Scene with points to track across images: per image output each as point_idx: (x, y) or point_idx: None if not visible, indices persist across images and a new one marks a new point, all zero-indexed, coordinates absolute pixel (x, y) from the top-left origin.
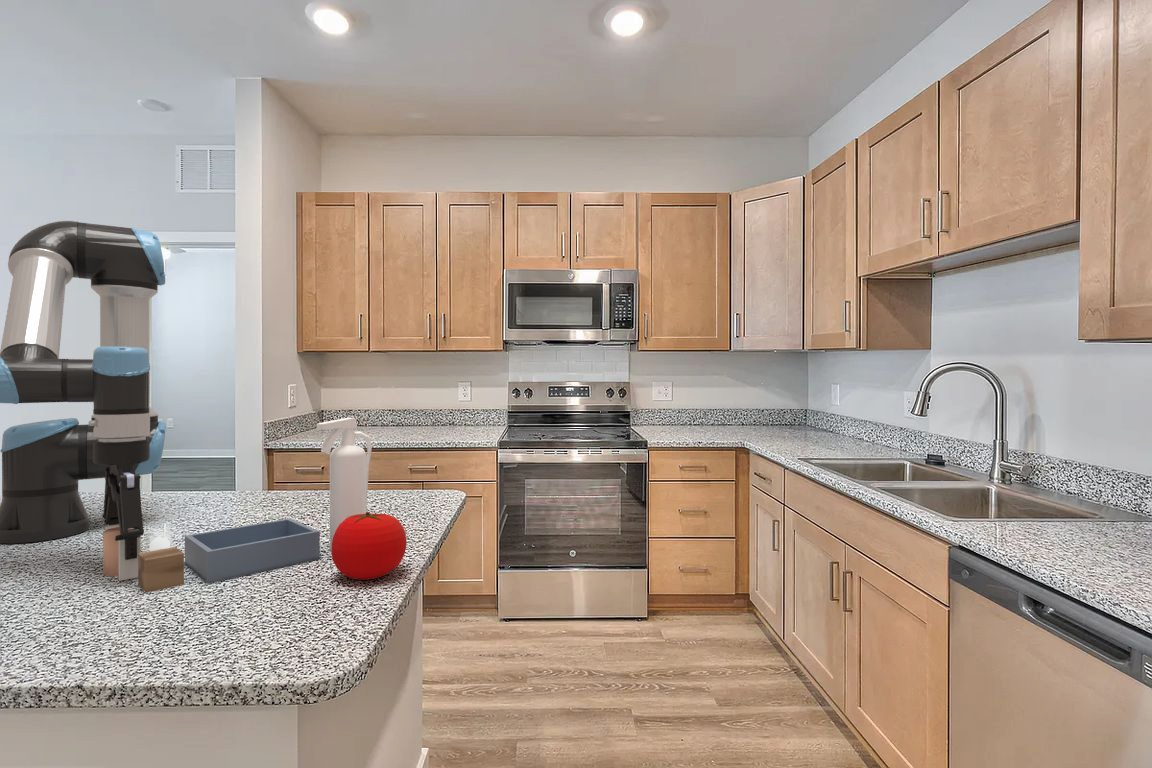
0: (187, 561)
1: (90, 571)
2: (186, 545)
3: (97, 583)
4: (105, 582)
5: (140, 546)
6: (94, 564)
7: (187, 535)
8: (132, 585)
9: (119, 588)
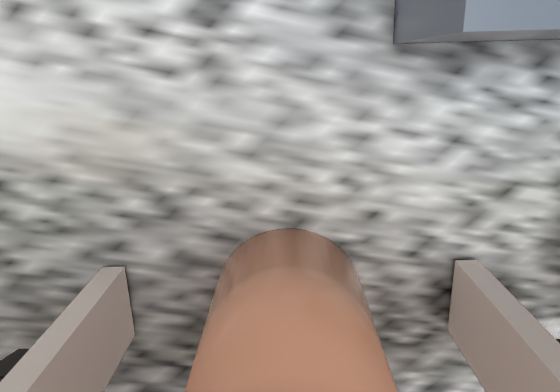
0: (467, 40)
1: None
2: (489, 35)
3: (406, 382)
4: (417, 361)
5: (325, 293)
6: None
7: (476, 8)
8: (556, 295)
9: (553, 335)
